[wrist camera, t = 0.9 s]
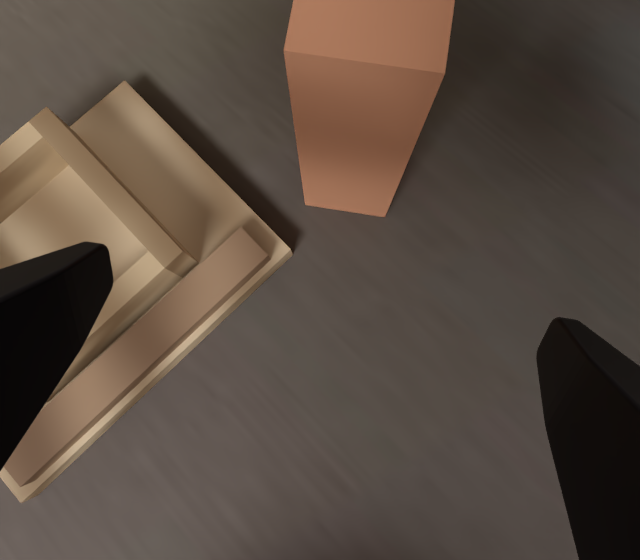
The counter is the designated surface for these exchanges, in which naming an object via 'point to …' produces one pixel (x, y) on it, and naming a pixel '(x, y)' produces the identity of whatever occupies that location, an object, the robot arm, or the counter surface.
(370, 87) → the block
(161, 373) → the jig
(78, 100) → the counter surface
